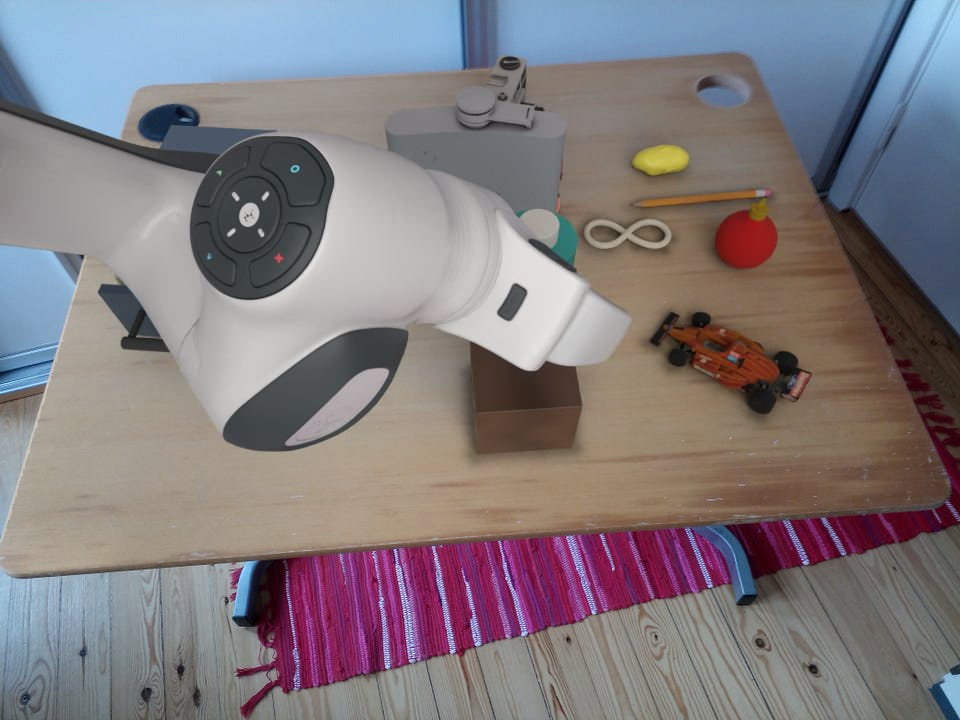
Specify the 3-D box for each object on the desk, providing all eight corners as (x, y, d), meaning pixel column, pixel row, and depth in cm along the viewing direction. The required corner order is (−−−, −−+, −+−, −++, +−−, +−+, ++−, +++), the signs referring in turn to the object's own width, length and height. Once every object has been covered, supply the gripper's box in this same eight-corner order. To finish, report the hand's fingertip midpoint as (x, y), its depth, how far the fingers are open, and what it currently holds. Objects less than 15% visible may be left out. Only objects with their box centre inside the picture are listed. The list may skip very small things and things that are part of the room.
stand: (476, 454, 70) (476, 413, 62) (470, 373, 75) (469, 326, 67) (572, 448, 70) (582, 406, 62) (559, 367, 75) (567, 320, 68)
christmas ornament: (727, 229, 87) (753, 169, 78) (776, 258, 84) (808, 199, 76) (696, 259, 84) (720, 200, 76) (745, 290, 81) (775, 232, 73)
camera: (522, 184, 91) (523, 121, 83) (462, 168, 94) (457, 106, 85) (557, 124, 98) (561, 61, 90) (500, 111, 101) (499, 48, 92)
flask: (547, 261, 84) (568, 84, 63) (547, 290, 81) (569, 115, 61) (409, 258, 84) (384, 80, 63) (405, 286, 82) (379, 111, 61)
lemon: (689, 179, 92) (697, 157, 89) (631, 181, 92) (637, 158, 89) (683, 159, 94) (690, 136, 91) (626, 160, 94) (632, 138, 91)
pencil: (766, 190, 90) (628, 202, 89) (770, 187, 89) (630, 200, 88) (767, 197, 90) (629, 209, 89) (771, 194, 89) (631, 207, 88)
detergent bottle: (529, 359, 56) (540, 267, 46) (480, 317, 58) (480, 221, 48) (577, 319, 58) (597, 224, 48) (528, 281, 60) (537, 182, 51)
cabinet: (264, 282, 82) (240, 226, 74) (156, 275, 83) (121, 220, 75) (295, 188, 91) (277, 130, 83) (198, 183, 92) (171, 124, 84)
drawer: (222, 378, 74) (197, 337, 67) (113, 370, 74) (78, 329, 68) (269, 241, 85) (251, 195, 78) (174, 236, 85) (148, 189, 79)
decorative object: (581, 222, 87) (585, 251, 84) (582, 216, 86) (586, 245, 84) (666, 222, 88) (673, 250, 85) (668, 216, 87) (675, 245, 84)
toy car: (674, 307, 80) (683, 284, 76) (807, 377, 74) (824, 355, 71) (642, 351, 77) (650, 329, 73) (779, 427, 71) (795, 407, 67)
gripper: (319, 216, 46) (429, 239, 58) (549, 389, 38) (619, 374, 51) (358, 131, 44) (463, 173, 56) (608, 295, 36) (667, 303, 49)
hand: (539, 269), depth 53 cm, fingers closed on detergent bottle, 6 cm apart
